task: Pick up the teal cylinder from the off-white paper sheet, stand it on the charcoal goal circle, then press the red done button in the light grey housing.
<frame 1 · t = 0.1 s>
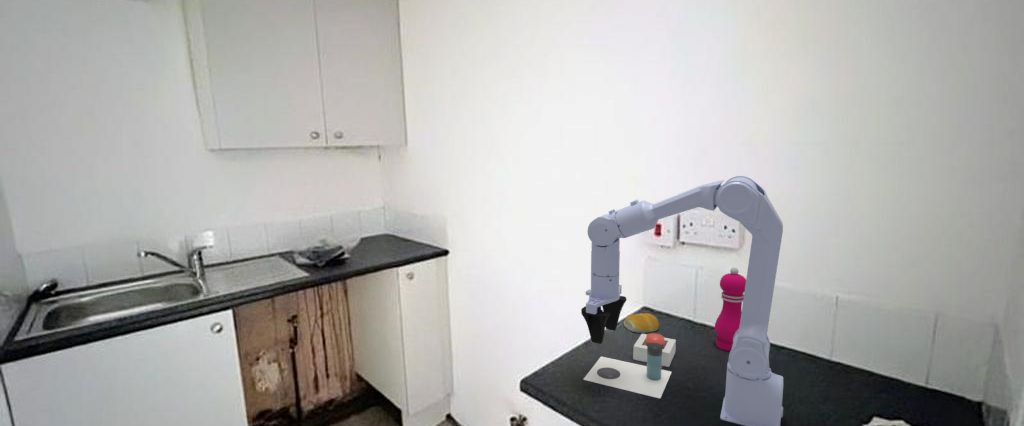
hand: (604, 335, 100), 10 cm above the countertop, fingers open, 7 cm apart
button housing: (654, 356, 111), on the countertop
done button: (655, 341, 111), point 4 cm above the countertop, slide at 0.0 cm
paper: (628, 376, 102), on the countertop
teal cylinder: (653, 376, 102), resting on paper
bread roll: (641, 328, 128), on the countertop
pepper mill: (729, 347, 116), on the countertop
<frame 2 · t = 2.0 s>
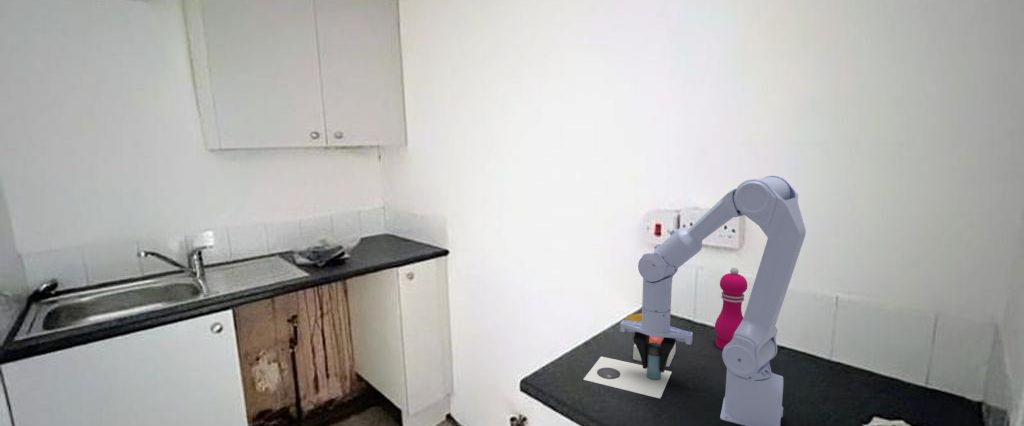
hand: (654, 368, 101), 2 cm above the countertop, fingers closed on teal cylinder, 3 cm apart
teal cylinder: (653, 376, 102), resting on paper, touching gripper
everything else where it was.
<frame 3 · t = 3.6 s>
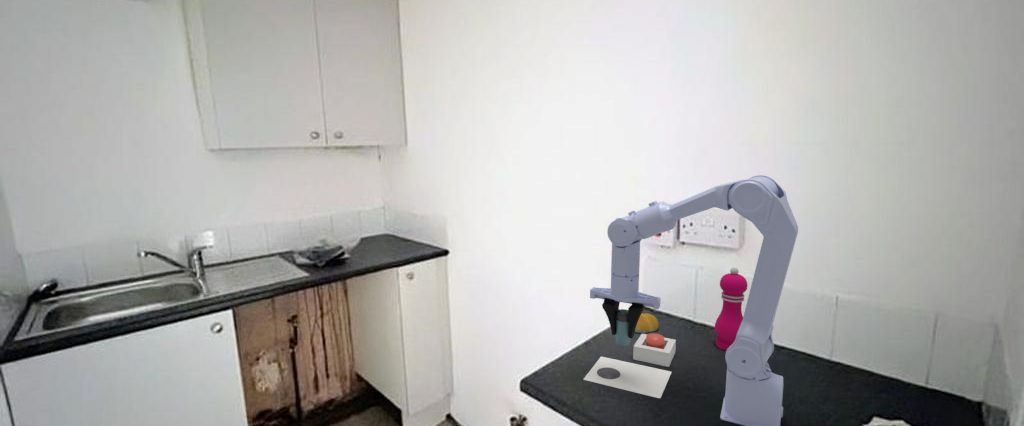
hand: (623, 334, 101), 9 cm above the countertop, fingers closed on teal cylinder, 3 cm apart
teal cylinder: (622, 342, 102), point 7 cm above the countertop, touching gripper
everything else where it was.
when the fingers open (3 cm above the countertop, at t = 5.3 s): teal cylinder stays where it is, resting on paper.
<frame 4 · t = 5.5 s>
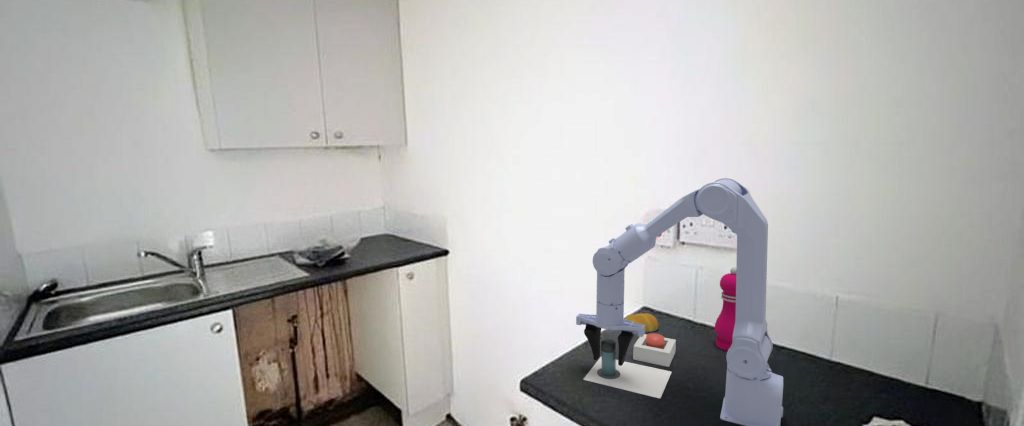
hand: (608, 360, 103), 3 cm above the countertop, fingers open, 5 cm apart
teal cylinder: (608, 372, 103), resting on paper
everything else where it was.
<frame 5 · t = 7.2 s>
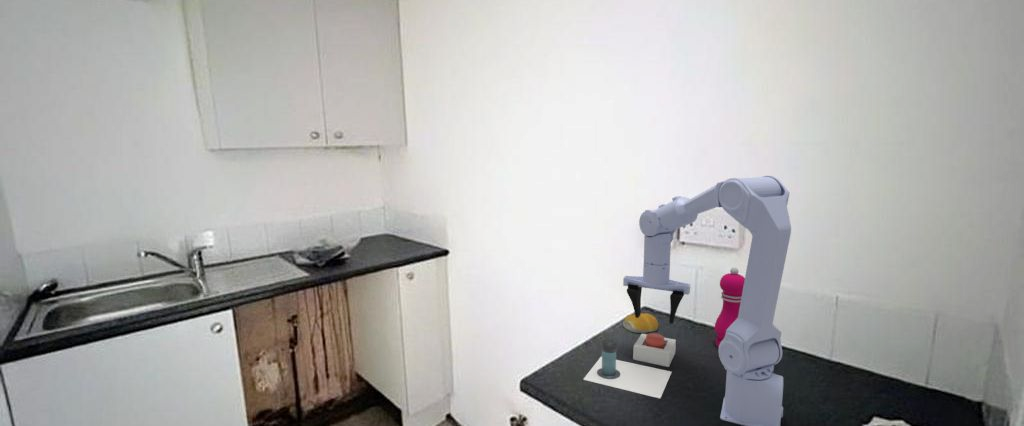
hand: (654, 319, 109), 9 cm above the countertop, fingers open, 7 cm apart
nothing on the countertop moved.
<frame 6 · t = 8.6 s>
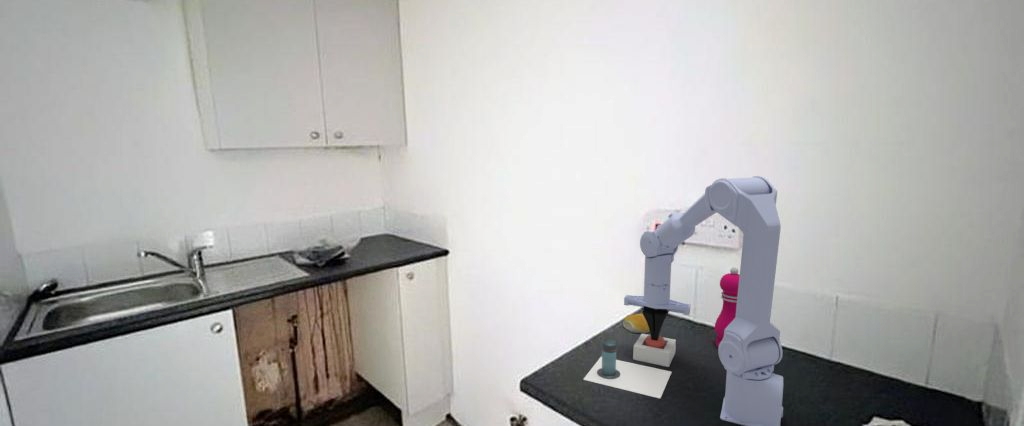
hand: (655, 338, 110), 5 cm above the countertop, fingers closed, pressing on done button
done button: (654, 343, 111), point 3 cm above the countertop, slide at 0.4 cm, touching gripper
everything else where it was.
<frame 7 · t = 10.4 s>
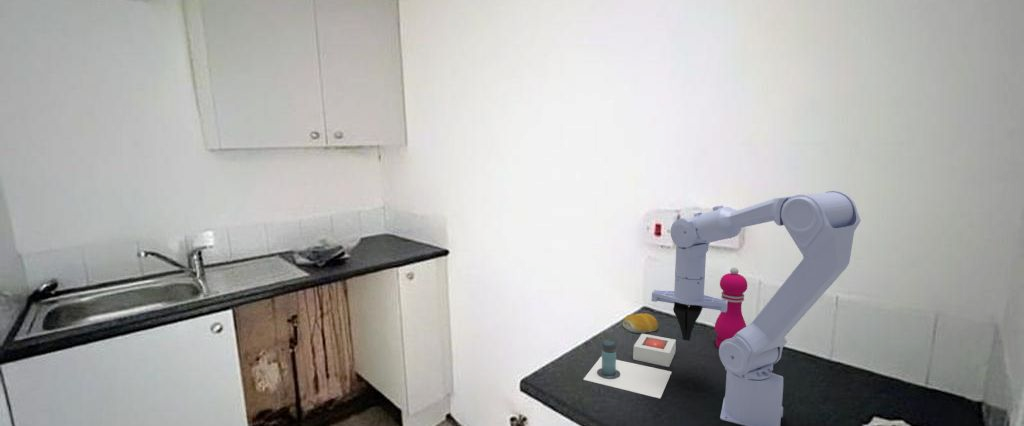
hand: (686, 338, 99), 9 cm above the countertop, fingers closed
done button: (654, 347, 111), point 2 cm above the countertop, slide at 1.3 cm
everything else where it was.
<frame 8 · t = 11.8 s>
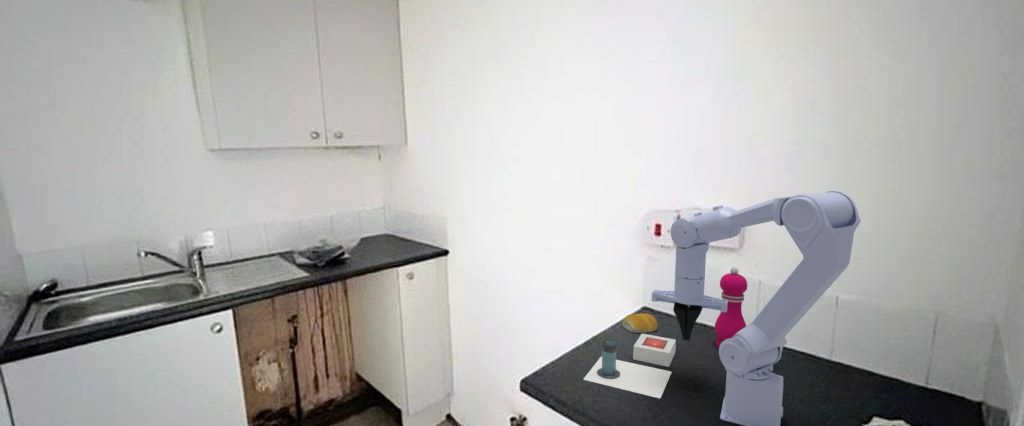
hand: (686, 338, 99), 9 cm above the countertop, fingers closed
nothing on the countertop moved.
at the end: teal cylinder 0.0 cm from the target spot on the paper, point 0.4 cm above the paper's base; teal cylinder tilted 0°; done button slide at 1.3 cm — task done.
